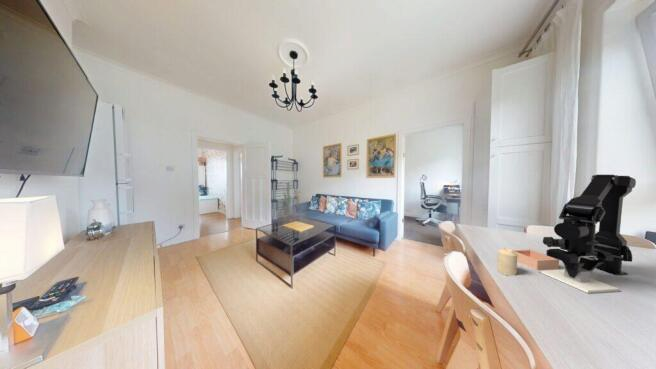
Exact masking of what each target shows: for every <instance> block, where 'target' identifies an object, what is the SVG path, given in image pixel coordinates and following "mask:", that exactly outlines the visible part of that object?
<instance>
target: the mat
mask: <svg viewBox="0 0 656 369" xmlns="http://www.w3.org/2000/svg"><path fill="white" fill-rule="evenodd" d="M538 273H540V274H541V275H544V276H545V277H548V278H551V279H553V280H555V281H558V282H560V283H562V284H565V285H566V286H569V287H572V288H574V289H577V290H578V291H581V292H584V291H582V290H580V289H578V288H575V287H573V286H571V285H568V284H566V283H564V282H561V281H559V280H557V279H555V278H552V277H550V276H548V275H545V274H543V273H541V271H538ZM622 292H623V291H622V290H619V291H610V292H594V293H587V292H584V293H585V294H588V295H596V294H598V295H599V294H612V293H622Z"/></svg>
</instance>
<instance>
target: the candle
mask: <svg viewBox="0 0 656 369" xmlns="http://www.w3.org/2000/svg"><path fill="white" fill-rule="evenodd" d="M512 250H513V249H510V248H508V247H503V248H500V249H498V250H497V263H496V265H497V266H496V270H497V272H498V273H500V274H501V275H504V276H507V277H510V276H516V275H517V271H518V270H517V268H518V262H517V256H518V255H517V254H516V253H515V252H513V251H512Z"/></svg>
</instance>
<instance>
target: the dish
mask: <svg viewBox="0 0 656 369" xmlns="http://www.w3.org/2000/svg"><path fill="white" fill-rule="evenodd" d="M511 250H512V251H513V252H515V253H516V254H517V255H518V256H517V263H520V264H522V265H525V266H527V267H528V268H529V267H530V268H531V269H533V270H536V271H547V270H559V268H560V267H559V266H560V260H558V259H555V258H553V257H550V256H547V255H546V254H543V253H541V252H538V251H535V250H533V249H532V250H531V249H511Z"/></svg>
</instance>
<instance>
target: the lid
mask: <svg viewBox="0 0 656 369" xmlns="http://www.w3.org/2000/svg"><path fill="white" fill-rule="evenodd" d="M540 272H541V273H543V274H542V275H544V274H545V275H544V276H546V275H548V276H550V277H549V278H551V277H552V278H551V279H553V278H555V279H557V280H556V281H558V280H559V281H558V282H560V281H561V282H560V283H562V282H564V283H566V284H565V285H567V284H568V285H567V286H569V285H571V286H573V287H572V288H574V287H575V288H574V289H576V288H578V289H580V290H582V291H581V292H583V291H584V293H585V292H587V293H594V292H610V291H620V290H619V289H620V288H618V287H616V286H612V285H609V284H608V283H605V282H602V281H599V280H597V279H595V278H593V277H591V274H592V271H589V270H586V269H583V268H581V269H580V271H579V272H578V274H577V275H576V276H575V278H572V277H570V276H569V274H568V272H567V270H566V267H565V266H564V269H547V270H540ZM541 273H540V274H541ZM548 276H547V277H548ZM555 279H554V280H555ZM564 283H563V284H564ZM571 286H570V287H571ZM578 289H577V290H578ZM580 290H579V291H580ZM587 293H586V294H587Z"/></svg>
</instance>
